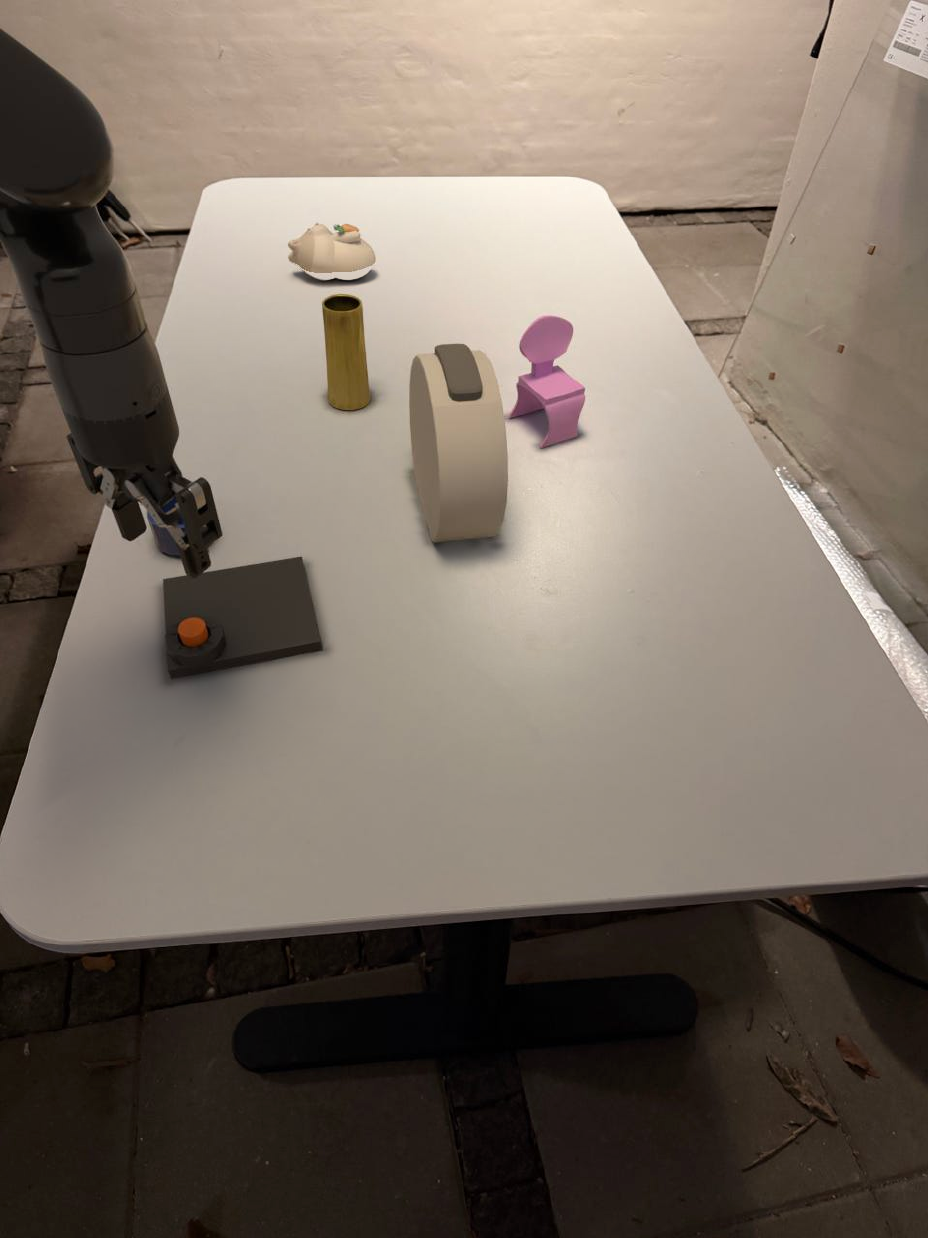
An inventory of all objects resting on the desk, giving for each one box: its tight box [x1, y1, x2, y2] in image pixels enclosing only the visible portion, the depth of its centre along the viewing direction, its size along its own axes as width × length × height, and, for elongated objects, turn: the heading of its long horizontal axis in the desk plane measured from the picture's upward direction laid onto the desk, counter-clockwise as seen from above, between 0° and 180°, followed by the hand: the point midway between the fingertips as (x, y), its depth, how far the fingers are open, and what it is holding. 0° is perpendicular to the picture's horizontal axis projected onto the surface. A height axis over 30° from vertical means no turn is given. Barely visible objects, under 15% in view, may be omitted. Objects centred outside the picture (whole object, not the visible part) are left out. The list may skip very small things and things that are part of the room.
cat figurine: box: [287, 222, 376, 273], centre depth 134 cm, size 10×8×15 cm
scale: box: [162, 556, 323, 679], centre depth 81 cm, size 15×13×3 cm
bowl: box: [146, 495, 207, 557], centre depth 88 cm, size 6×6×4 cm
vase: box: [321, 293, 372, 411], centre depth 106 cm, size 6×6×14 cm
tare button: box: [178, 617, 208, 647], centre depth 76 cm, size 3×3×2 cm
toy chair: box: [507, 315, 586, 449], centre depth 103 cm, size 8×9×15 cm
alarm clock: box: [408, 343, 509, 543], centre depth 89 cm, size 21×8×20 cm, turn 12°
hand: (166, 552), depth 69 cm, fingers open, 7 cm apart
